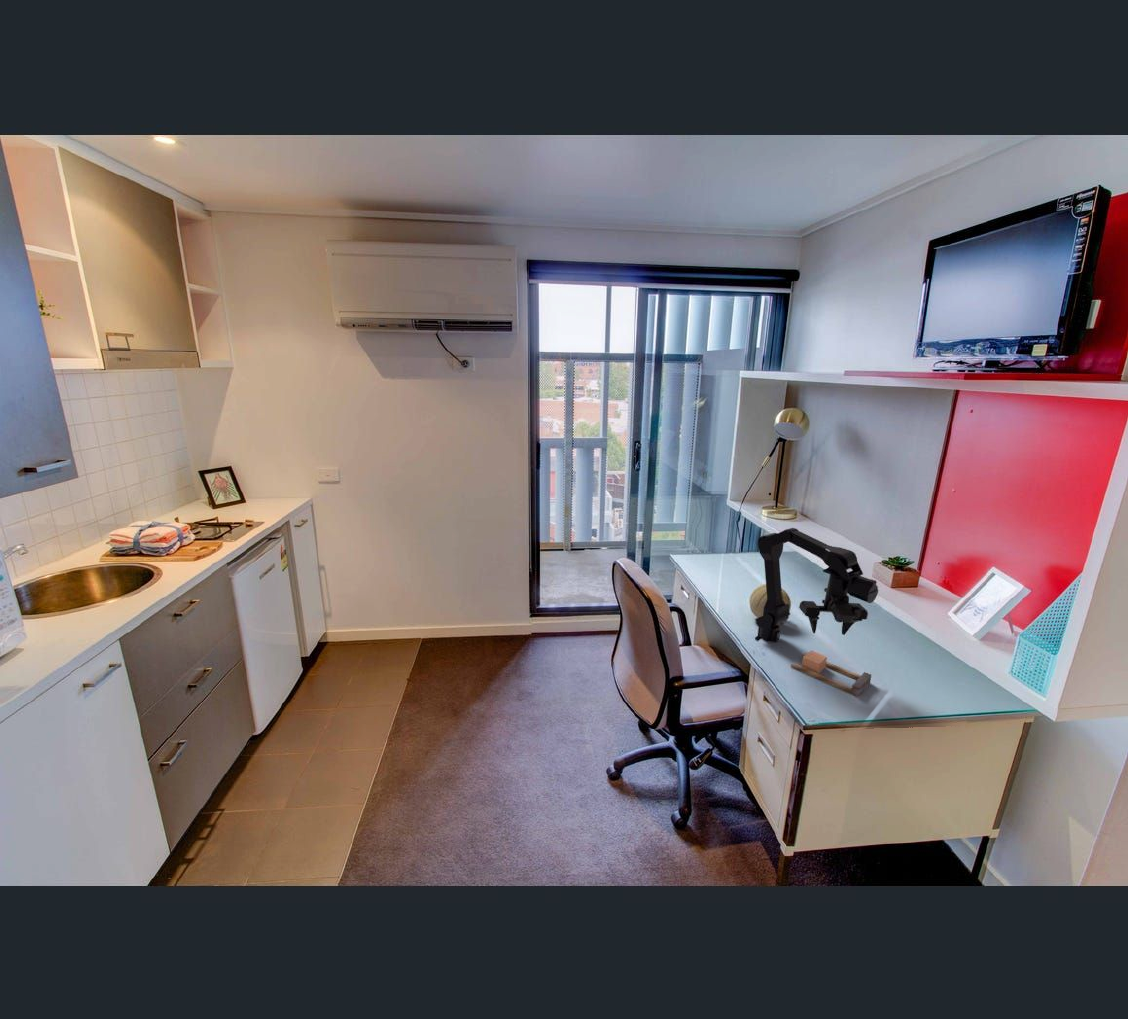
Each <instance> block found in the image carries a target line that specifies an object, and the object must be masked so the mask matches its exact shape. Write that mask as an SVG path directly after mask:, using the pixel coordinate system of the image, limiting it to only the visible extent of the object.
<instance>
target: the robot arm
mask: <svg viewBox="0 0 1128 1019" xmlns="http://www.w3.org/2000/svg"><path fill="white" fill-rule="evenodd" d="M788 542H789V543H791V544H793V545H795V546H796V547H798V548H800V549H802V550H804V551H806V552H808V553H811V554H812V555H814V556H816V557H817V558H819V559H821V560H822V561H823V563H824V564H825V565H826V566H827V568H825V569H822V572H823V573H826V574H829V576H828V579H827V580H828V581H827V585H826V586H827V587H824V592H825V596H824V599H822V601H821V604H823V605H817V603H816V602H815V601H813V600H812V601H811V600H802V601H801V602H800V603H799V608H798V609H799V610H800V611H801V612H802V614H803V615H804V616H806V617H808V620H809V621H808V622H809V623H810V629H811V631H812V633H813V634H816V632H817V625H818V620H820V617H819V616H820V614H821V613H831V614H832V616H833V617H834V618H833V619H834V621H836V622H837V623H842V624H841V634H842V635H843V636H845V634H847V632H848V631H850V628H851V627H852V626H853V625H854V624H855V623H857V622H862V621H863V620H867V619H868V616H869V612H868V610H867V609H866V608H865V607H864V606H863V605H861V603H858V602H850V597H849V596H851V597H853V598H856V599H857V600H860V601H863V602H866V603H868V604H871V603H874V601H875V600H876V598H877V596H878V594H879V586H878V585H877V583H878V582H877V580H875V579H871V578H867V577H864V576H863V575H864V572H863V570H862V568H861V566H860V563H859V562H858V557H857V554H856V552H854V551H853V550H850V549H847V548H843V547H839V546H834V545H833V546H832V545H828V544H827V543H825V542H822V541H821V540H819V539H816V538H814V537H812V536H810V535H808V534H806V533H804V532H802V531H801V530H799V529H798V528H795V527H790V528H786V529H784V530H782V531H780V532H777V533H776V532H772V533H769V534H765V535H761V536H760V537H758V539H757V543H756V544H757V548H758V552H759V554H760V556H761V557H762V559H763V561H764V576H765V584H766V591H767V601H766V603H765V606H764V609H763V616H761V617H759V618H758V617H757V618H755V623H756V626H758V630H757V635H756V636H755V637H754V639H755V640H756V641H760V640H763V641H766V642H772V643H778V642H779V641H780V638H781V630H780V629H781V626H780V625H783V624H784V622H786V621H788V620H789V617H790V616H791V613H790V612H791V611H790V612H789V604H785V602H784V601H783V599H782V590H781V588H782V578H781V565H780V558H781V555H782V554H783V550H784V544H786V543H788ZM850 569H851V570H850ZM848 570H850V571H848Z"/></svg>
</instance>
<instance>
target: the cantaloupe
mask: <svg viewBox="0 0 1128 1019" xmlns="http://www.w3.org/2000/svg"><path fill="white" fill-rule="evenodd" d="M781 590H782V599H783V601H784V602H785V604H789V612H791V607H792V600H791V599H790V596H789V594H788V592H786V591H785V589H783V588H782V587H781ZM766 601H767V591H766V583H764V584H760V585H759V586H757V587H756V588H755V589H753V591H752V593H751V594H750V597H749V608H750V611H751V613H752V614H753V615H754V616H755V617H757V618H759V617H761V616H763V609H764V606H765V603H766Z"/></svg>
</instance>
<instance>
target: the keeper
mask: <svg viewBox="0 0 1128 1019" xmlns="http://www.w3.org/2000/svg"><path fill="white" fill-rule="evenodd" d="M806 653H807V654H806V655H805V656H804V657H803V656H802V662H801V666H802V667H804V668H807V669H809V670H811V671H814V672H816V673H818V674H820V673H821V672H822V671H823V670H824V669H826V667H825V666H826V662H827V659H828V656H826V655H823V654H821V653H818V652H817V651H814V650H810V651H808V652H806Z"/></svg>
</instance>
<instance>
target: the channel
mask: <svg viewBox="0 0 1128 1019" xmlns="http://www.w3.org/2000/svg"><path fill="white" fill-rule="evenodd" d="M807 653H808V652H804V653H803V654H802V658H803V657H804V656H805V655H806V654H807ZM790 667H791V669H792V668H793V669H795V670H796V671H798V672H802V673H803V674H806V675H808V676H809V677H813V678H815V679H817V680H819V681H822V682H824V683H826V684H829V685H830V686H833V687H834V688H835V687H836V688H837V689H839V690H842V691H844V692H847V693H849V694H851V695H853V696H856V697H859V696H860V695H861V694H862V693H863V691H865V690H866V688H867V687H868V686H870V684H871V680H872V674H871V673H868V672H865V671H864V672H862V674H861V675H859V674H857V673H855V672H852V671H850V670H847V669H846V668H843V667H841V666H839V665H838V666H837V665H836V664H833V663H831V662H828V661H826V666H825V668H827V669H830V670H833V671H835V672H837V673H840V674H842V675H845V676H847V677H850V678H852V679H854V680H856V681H855V682H854V683H852V685H851V687H850V686H847V685H845V684H843V683H842V682H839V681H836V680H834V679H832V678H830V677H827V676H825V675H822V674H820V673H819V674H818V673H816V672H814V671H811V670H809V669H807V668H804V667H802V665H800V664H797V663H796V662H791V664H790Z"/></svg>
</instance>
